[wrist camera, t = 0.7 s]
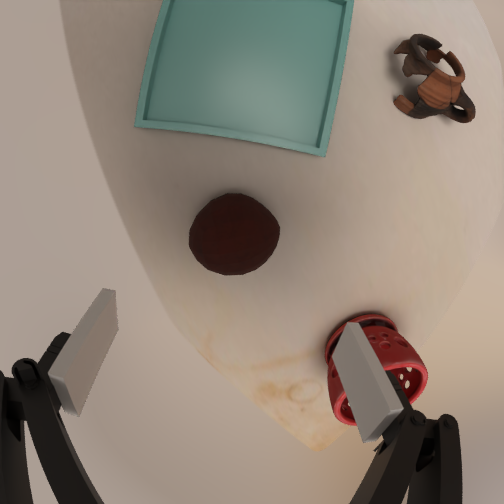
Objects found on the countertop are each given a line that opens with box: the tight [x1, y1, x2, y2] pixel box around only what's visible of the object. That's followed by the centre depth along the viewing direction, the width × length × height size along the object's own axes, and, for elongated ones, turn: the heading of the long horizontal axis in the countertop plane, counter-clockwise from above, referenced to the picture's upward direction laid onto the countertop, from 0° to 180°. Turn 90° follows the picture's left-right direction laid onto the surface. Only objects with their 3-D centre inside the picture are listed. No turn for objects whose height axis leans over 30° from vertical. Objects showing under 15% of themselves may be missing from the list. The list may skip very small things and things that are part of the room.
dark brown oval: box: [189, 193, 280, 275], centre depth 29 cm, size 8×9×8 cm
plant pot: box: [325, 314, 428, 426], centre depth 35 cm, size 13×13×12 cm
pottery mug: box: [394, 34, 475, 123], centre depth 24 cm, size 12×9×8 cm
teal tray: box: [134, 0, 354, 157], centre depth 24 cm, size 20×20×2 cm
